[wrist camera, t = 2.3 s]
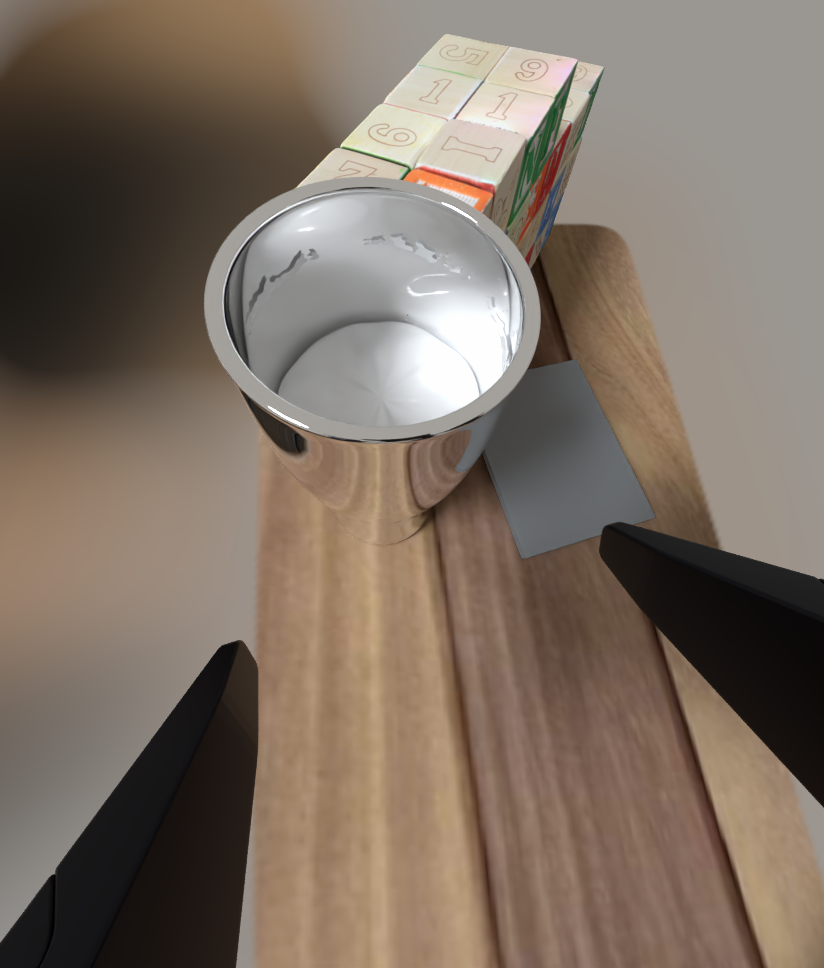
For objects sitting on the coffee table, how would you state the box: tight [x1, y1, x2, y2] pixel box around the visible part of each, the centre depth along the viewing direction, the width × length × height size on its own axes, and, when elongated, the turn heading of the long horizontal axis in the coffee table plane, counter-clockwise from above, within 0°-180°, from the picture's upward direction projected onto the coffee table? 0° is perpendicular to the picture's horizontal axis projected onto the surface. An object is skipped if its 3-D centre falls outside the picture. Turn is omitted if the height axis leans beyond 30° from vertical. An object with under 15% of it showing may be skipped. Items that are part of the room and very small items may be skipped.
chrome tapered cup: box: [204, 177, 541, 545], centre depth 14 cm, size 7×7×15 cm
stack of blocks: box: [295, 34, 604, 269], centre depth 20 cm, size 21×6×12 cm, turn 152°
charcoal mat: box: [482, 359, 656, 559], centre depth 22 cm, size 12×9×1 cm
